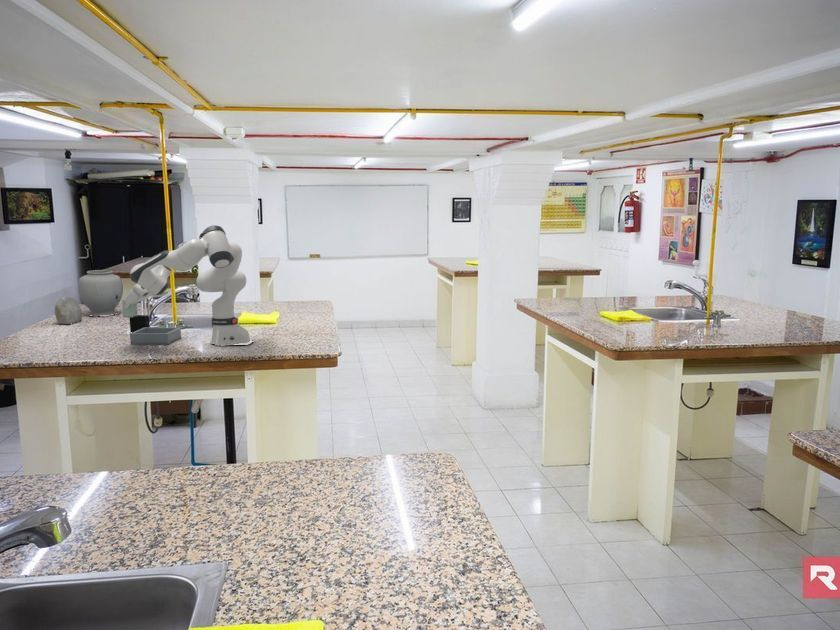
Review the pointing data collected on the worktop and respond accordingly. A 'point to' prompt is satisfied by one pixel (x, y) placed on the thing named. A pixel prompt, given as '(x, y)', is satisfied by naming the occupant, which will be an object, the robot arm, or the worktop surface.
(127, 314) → the pale green block
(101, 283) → the grey ceramic vase
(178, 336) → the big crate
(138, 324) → the electronic device
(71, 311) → the decorative stone
